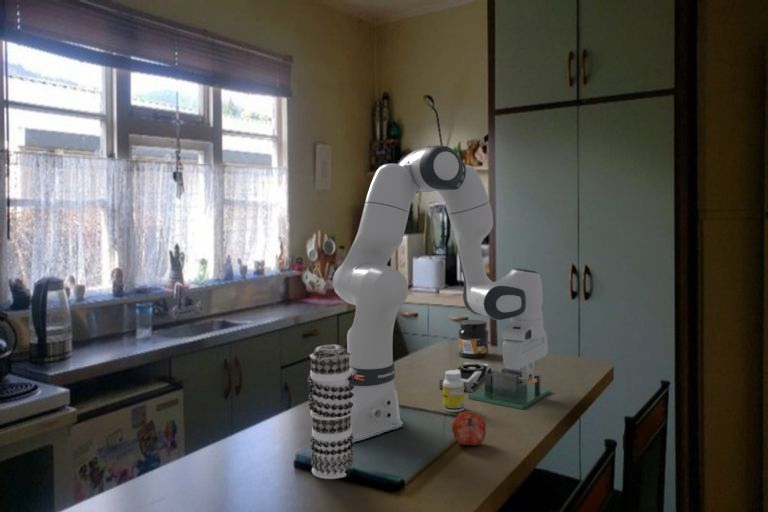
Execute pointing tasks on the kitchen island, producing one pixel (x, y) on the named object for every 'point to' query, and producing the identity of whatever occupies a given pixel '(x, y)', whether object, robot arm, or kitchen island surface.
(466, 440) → the pomegranate
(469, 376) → the graphics card
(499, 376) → the circuit board
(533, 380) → the white strip
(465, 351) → the supplement container
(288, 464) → the kitchen island surface
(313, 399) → the decorative candle
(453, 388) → the supplement bottle
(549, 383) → the kitchen island surface
